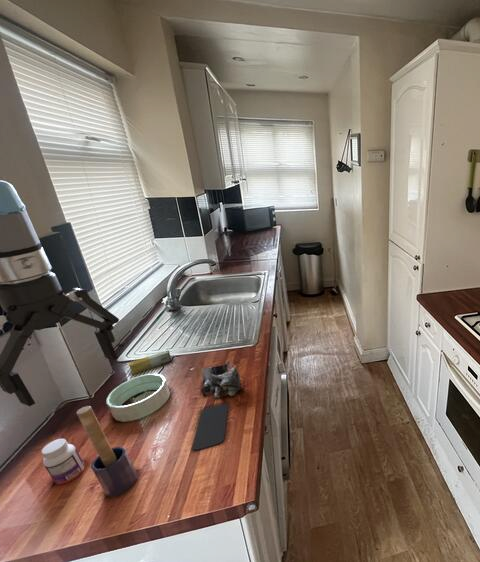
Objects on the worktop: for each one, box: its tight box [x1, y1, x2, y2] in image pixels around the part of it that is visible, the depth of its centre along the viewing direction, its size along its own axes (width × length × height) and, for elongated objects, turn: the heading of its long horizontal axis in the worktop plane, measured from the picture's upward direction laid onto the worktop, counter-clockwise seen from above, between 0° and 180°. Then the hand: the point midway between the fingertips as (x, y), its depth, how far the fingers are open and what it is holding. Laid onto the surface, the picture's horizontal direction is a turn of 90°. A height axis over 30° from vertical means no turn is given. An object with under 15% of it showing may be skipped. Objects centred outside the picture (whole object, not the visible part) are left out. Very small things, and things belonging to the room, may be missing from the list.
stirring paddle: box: [76, 405, 117, 468], centre depth 65 cm, size 3×2×22 cm
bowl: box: [106, 373, 171, 423], centre depth 92 cm, size 14×14×6 cm
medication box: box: [128, 350, 173, 375], centre depth 110 cm, size 12×3×4 cm, turn 129°
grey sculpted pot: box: [200, 360, 243, 399], centre depth 98 cm, size 12×11×15 cm
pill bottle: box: [41, 438, 86, 485], centre depth 71 cm, size 5×5×10 cm
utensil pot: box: [90, 446, 138, 498], centre depth 68 cm, size 6×6×9 cm
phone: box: [192, 403, 229, 451], centre depth 84 cm, size 7×1×15 cm
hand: (74, 378), depth 60 cm, fingers open, 13 cm apart
